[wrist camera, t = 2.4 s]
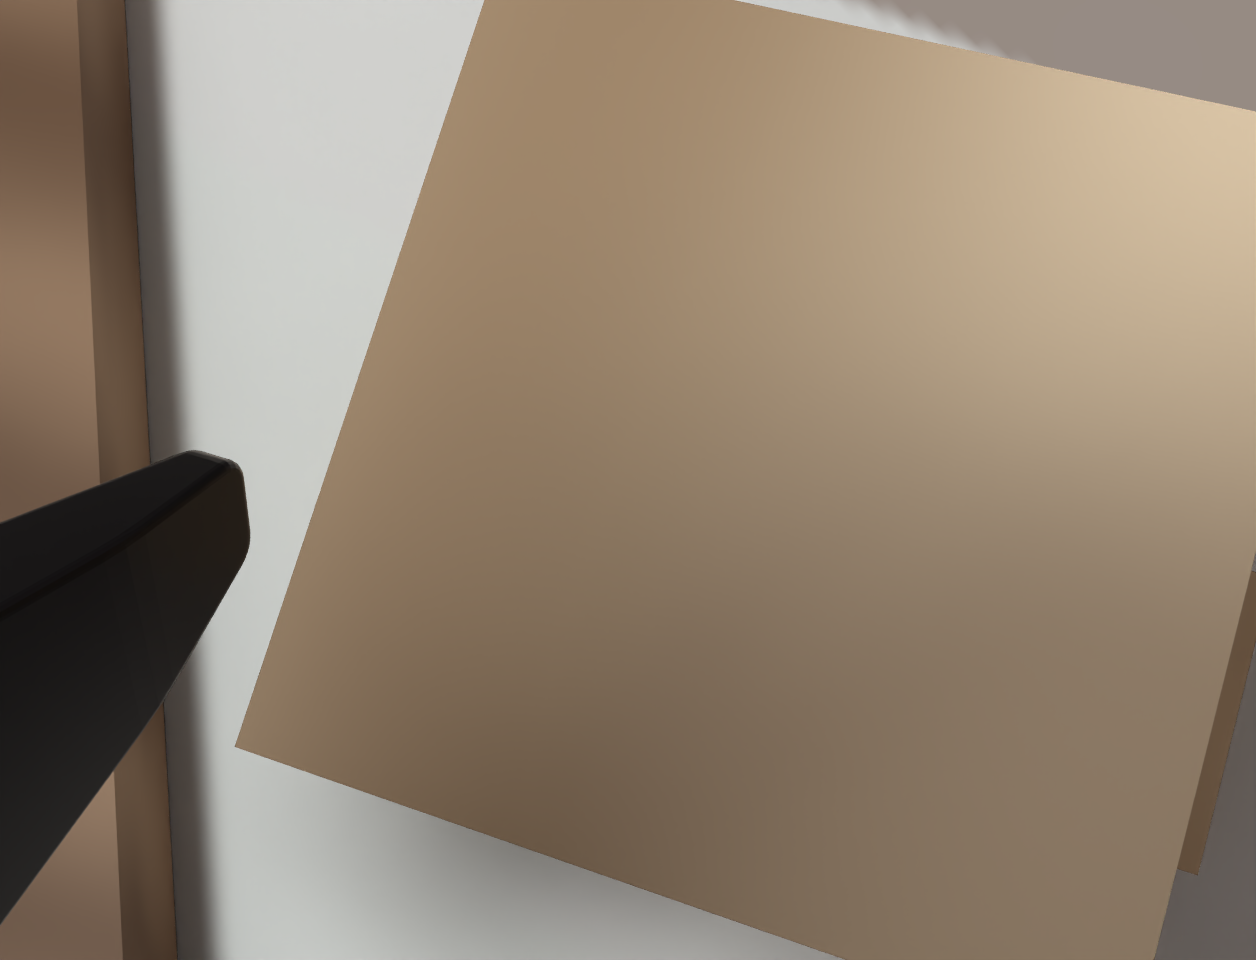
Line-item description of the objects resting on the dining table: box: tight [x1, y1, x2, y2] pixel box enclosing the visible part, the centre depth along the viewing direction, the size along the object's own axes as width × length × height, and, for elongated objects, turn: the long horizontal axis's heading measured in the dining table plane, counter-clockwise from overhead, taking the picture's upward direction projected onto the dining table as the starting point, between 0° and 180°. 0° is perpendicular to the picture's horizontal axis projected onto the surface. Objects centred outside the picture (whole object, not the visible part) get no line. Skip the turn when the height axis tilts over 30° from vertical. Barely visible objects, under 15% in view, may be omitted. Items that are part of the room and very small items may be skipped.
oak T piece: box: [235, 0, 1256, 960], centre depth 12 cm, size 12×4×13 cm, turn 73°
